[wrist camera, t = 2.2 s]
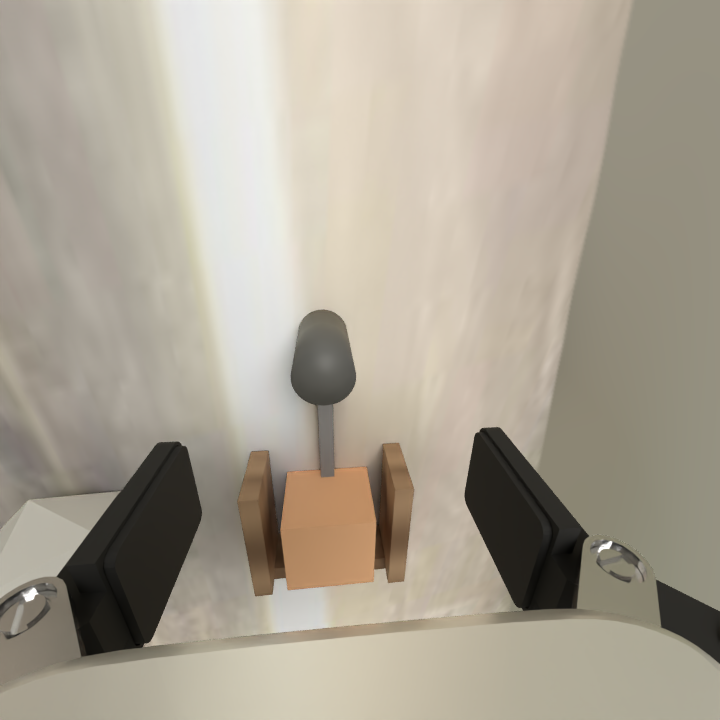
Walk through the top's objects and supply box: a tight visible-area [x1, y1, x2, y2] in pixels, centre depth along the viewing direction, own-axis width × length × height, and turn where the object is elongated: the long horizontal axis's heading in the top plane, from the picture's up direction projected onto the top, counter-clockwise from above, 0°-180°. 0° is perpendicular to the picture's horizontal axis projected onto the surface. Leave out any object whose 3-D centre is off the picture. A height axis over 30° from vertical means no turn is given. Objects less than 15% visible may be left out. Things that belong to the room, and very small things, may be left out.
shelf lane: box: [237, 443, 414, 596], centre depth 25 cm, size 10×11×4 cm
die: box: [0, 491, 121, 598], centre depth 22 cm, size 8×9×10 cm
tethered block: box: [280, 310, 376, 590], centre depth 22 cm, size 18×6×6 cm, turn 0°
